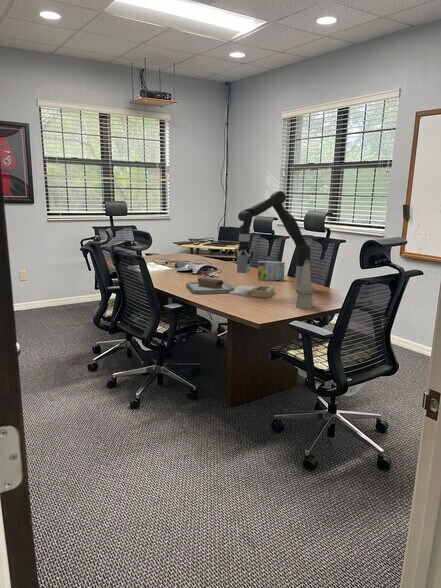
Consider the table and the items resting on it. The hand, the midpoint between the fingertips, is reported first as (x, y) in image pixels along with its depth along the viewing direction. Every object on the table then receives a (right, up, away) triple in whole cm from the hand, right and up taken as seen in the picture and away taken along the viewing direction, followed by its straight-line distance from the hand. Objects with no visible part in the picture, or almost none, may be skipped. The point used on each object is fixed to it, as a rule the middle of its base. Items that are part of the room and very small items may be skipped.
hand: (243, 263), depth 309 cm
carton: (+13, -21, -4) cm, 26 cm away
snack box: (+25, -10, +48) cm, 54 cm away
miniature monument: (+36, -29, -35) cm, 58 cm away
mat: (0, -19, +4) cm, 20 cm away
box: (0, -6, +1) cm, 6 cm away
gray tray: (-24, -19, +8) cm, 32 cm away
